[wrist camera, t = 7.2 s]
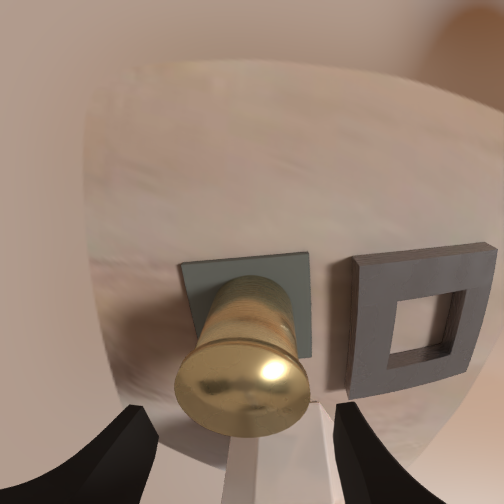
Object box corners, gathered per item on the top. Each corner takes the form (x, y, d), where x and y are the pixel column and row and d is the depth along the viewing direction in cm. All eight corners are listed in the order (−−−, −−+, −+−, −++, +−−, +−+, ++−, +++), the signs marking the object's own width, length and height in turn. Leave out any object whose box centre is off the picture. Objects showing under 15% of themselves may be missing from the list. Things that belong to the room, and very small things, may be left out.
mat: (311, 353, 18) (311, 357, 18) (205, 359, 19) (204, 363, 18) (307, 251, 16) (308, 253, 16) (182, 262, 17) (180, 264, 16)
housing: (458, 360, 18) (465, 371, 17) (344, 385, 19) (348, 400, 18) (484, 242, 15) (497, 249, 14) (352, 256, 16) (359, 265, 14)
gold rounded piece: (301, 342, 17) (312, 432, 11) (218, 351, 18) (195, 437, 11) (291, 263, 16) (305, 339, 9) (198, 276, 16) (155, 351, 10)
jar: (214, 414, 21) (187, 549, 9) (309, 382, 19) (326, 541, 8) (267, 462, 23) (262, 568, 12) (347, 438, 21) (367, 553, 10)
